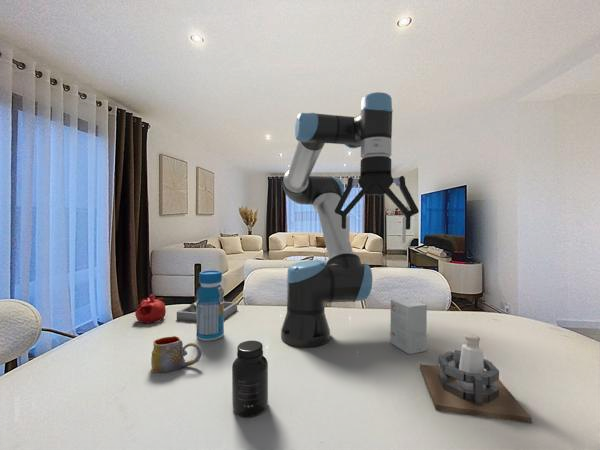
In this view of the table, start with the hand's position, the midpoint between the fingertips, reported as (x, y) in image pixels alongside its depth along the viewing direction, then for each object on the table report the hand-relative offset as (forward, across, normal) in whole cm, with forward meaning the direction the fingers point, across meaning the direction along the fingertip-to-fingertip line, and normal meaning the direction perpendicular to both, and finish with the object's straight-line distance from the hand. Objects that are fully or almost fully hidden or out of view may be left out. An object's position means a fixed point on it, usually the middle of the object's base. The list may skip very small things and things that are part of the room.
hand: (374, 242), depth 72 cm
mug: (+31, -47, -13) cm, 58 cm away
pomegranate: (+31, -77, +14) cm, 84 cm away
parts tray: (+31, -60, +24) cm, 72 cm away
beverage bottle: (+31, -49, +6) cm, 58 cm away
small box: (+31, +10, +12) cm, 35 cm away
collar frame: (+31, +19, -8) cm, 37 cm away
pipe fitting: (+30, -63, +26) cm, 74 cm away
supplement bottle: (+31, -24, -23) cm, 45 cm away
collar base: (+31, +19, -8) cm, 37 cm away
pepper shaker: (+30, +20, -8) cm, 37 cm away
